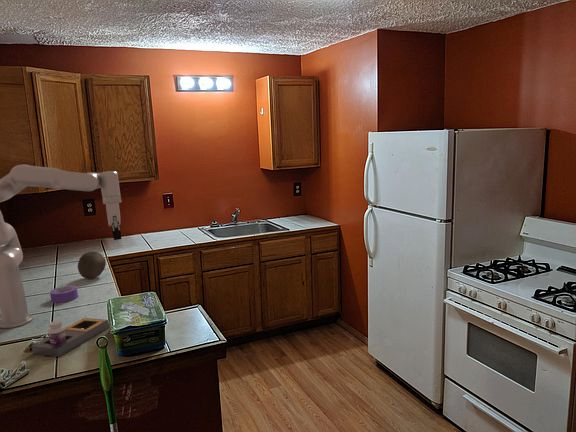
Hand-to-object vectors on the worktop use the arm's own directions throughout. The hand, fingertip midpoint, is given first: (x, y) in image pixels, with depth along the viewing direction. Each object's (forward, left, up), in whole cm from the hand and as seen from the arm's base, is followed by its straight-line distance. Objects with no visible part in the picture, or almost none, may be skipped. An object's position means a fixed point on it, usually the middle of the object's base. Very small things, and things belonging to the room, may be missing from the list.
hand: (117, 237), depth 198 cm
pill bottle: (+5, -43, -31) cm, 54 cm away
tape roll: (-37, 0, -31) cm, 48 cm away
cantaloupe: (-48, +31, -31) cm, 65 cm away
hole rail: (+5, -37, -31) cm, 48 cm away
